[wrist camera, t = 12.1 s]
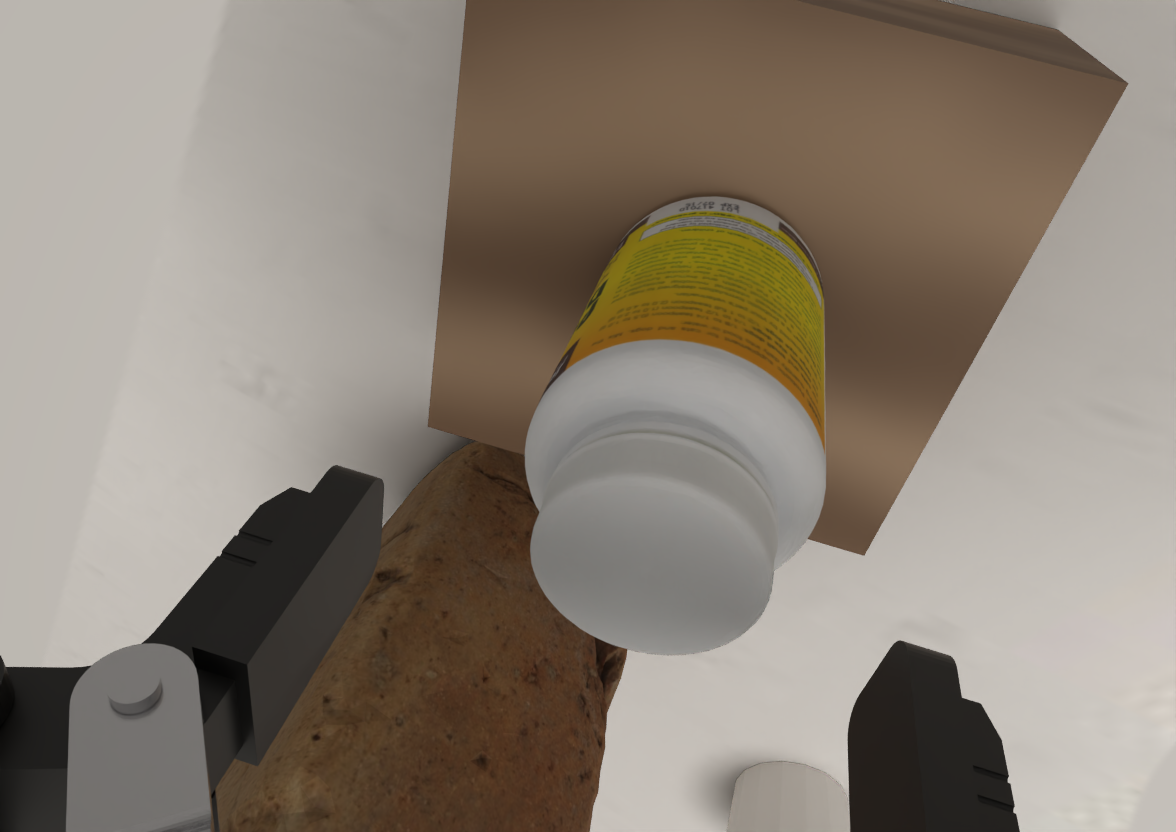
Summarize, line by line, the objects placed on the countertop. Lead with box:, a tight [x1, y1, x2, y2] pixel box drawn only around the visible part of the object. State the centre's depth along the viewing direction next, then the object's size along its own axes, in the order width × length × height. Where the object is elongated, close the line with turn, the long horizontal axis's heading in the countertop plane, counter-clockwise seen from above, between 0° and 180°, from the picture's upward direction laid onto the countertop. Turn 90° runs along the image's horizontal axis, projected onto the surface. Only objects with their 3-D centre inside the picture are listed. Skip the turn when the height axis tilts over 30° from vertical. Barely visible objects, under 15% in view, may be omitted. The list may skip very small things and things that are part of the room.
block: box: [216, 441, 627, 832], centre depth 28 cm, size 11×8×20 cm
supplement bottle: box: [525, 196, 826, 655], centre depth 17 cm, size 6×6×10 cm
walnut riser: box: [428, 0, 1128, 555], centre depth 24 cm, size 14×14×6 cm
